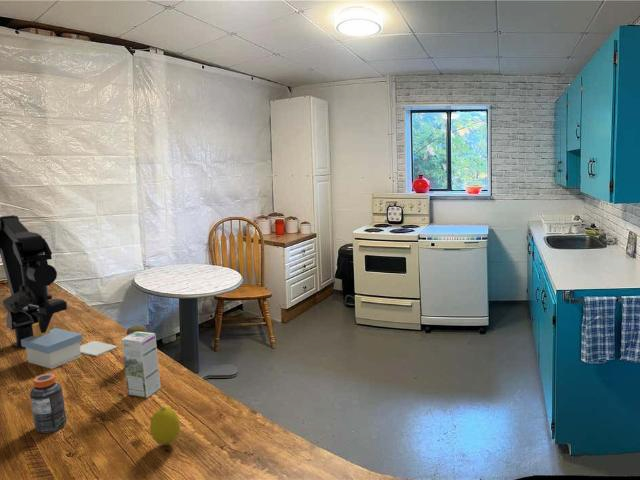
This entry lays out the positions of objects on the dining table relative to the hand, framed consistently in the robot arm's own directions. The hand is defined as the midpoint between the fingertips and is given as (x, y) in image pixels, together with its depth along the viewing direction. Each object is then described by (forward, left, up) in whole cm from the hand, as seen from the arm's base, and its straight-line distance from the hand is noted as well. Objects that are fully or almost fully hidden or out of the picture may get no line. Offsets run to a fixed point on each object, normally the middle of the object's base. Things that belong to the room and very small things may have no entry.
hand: (41, 332), depth 143 cm
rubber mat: (+9, +10, -8) cm, 15 cm away
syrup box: (+45, -3, -8) cm, 45 cm away
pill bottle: (+39, -23, -8) cm, 46 cm away
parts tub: (+5, 0, -8) cm, 9 cm away
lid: (+5, 0, -3) cm, 5 cm away
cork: (+31, +8, -8) cm, 33 cm away
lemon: (+67, -17, -8) cm, 69 cm away
